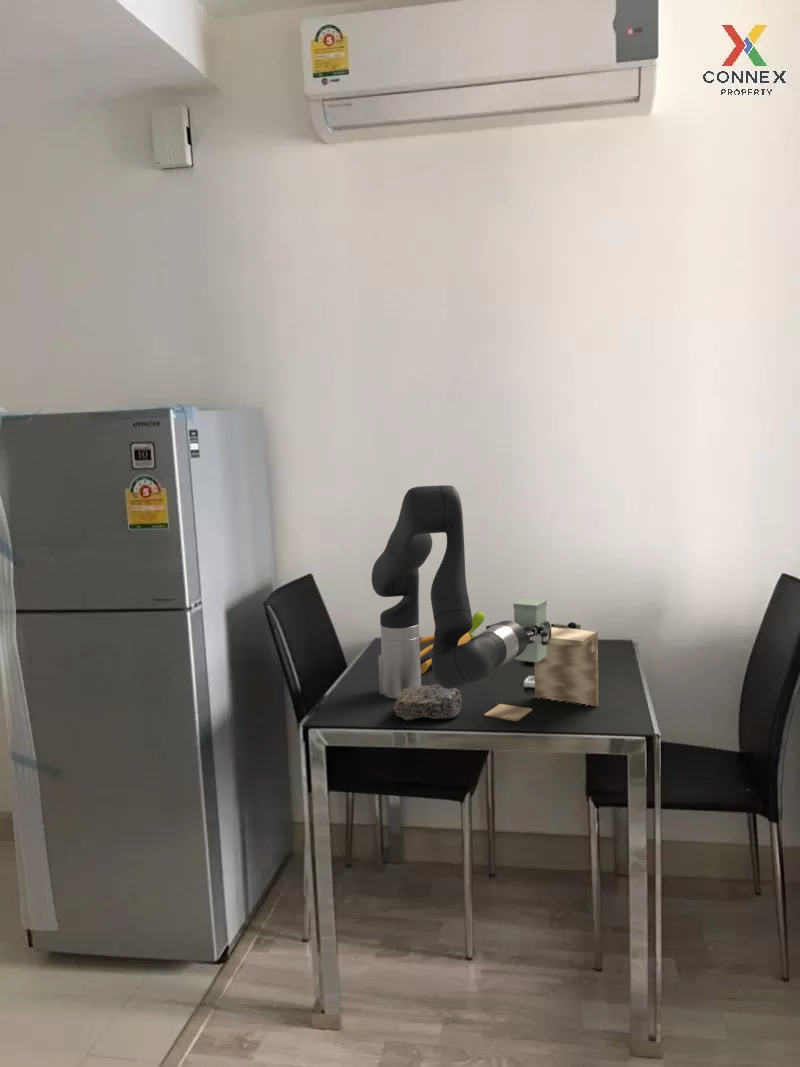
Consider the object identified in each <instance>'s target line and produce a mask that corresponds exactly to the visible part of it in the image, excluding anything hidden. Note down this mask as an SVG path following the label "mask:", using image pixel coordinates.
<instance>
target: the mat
mask: <svg viewBox="0 0 800 1067" xmlns="http://www.w3.org/2000/svg"><path fill="white" fill-rule="evenodd" d="M532 711H533V708H530V707H524V706H518V705H510V704H504V703H499V704H497V705H496V706H495V707H492V709H490V710H489V711H487V712H485V713H484V714H483V716H484V717H489V718H495V719H501V720H507V721H512V722H518V721H520V720H522V719H523V718H524V717H526V716H527V715H528V714H529V713H531V712H532Z"/></svg>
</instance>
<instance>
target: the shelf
mask: <svg viewBox="0 0 800 1067" xmlns="http://www.w3.org/2000/svg"><path fill="white" fill-rule="evenodd" d="M598 632H599V631H597V630H589V629H581V628H580V629H571V628H561V627H551V640H550V641H549V643H548V645H546V647H547V656H546V657H545V658H543V659H542V660H540V661H538V662H534V664H533V665H534V698H535V697H538V698H537V699H540V698H543V699H542V700H547V699H551V700H550V701H554V700H559V701H558V702H561V701H567V702H566V703H568V702H575V703H581V704H586V705H585V706H588V705H591V706H590V707H595V706H596V708H597V707H599V640H598V639H599V637H598V636H599V635H598ZM544 698H545V699H544ZM575 703H574V704H575ZM581 704H580V705H581Z"/></svg>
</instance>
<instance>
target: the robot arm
mask: <svg viewBox="0 0 800 1067" xmlns="http://www.w3.org/2000/svg"><path fill="white" fill-rule="evenodd" d="M461 501H462V500H461V497H460V494H459V491H458V490H457V488H456V487H455V486H454V485H448V484H447V485H444V484H442V485H423V486H421V485H420V486H415V487H411V488H409V489H408V490H407V491H406V493H405V495H404V497H403V500H402V503H401V507H400V511H399V515H398V518H397V522H396V524H395V527H394V528H393V530H392V532H391V534H390V535H389V538H388V540H387V543H386V546H385V548H384V550H383V552H382V553H380V556H379V557H378V558H377V559H376V561H375V562H374V564H373V567H372V571H371V584H372V589H373V590H374V593H376V595H378V596H379V597H383V598H390V597H391V598H393V597H402V598H401V600H400V601H399V602H398V603H396V604H395V605H393V606H391V607H389V608H387V609H385V610H383V611H382V612H381V613H380V616H379V620H380V621H379V622H380V624H379V625H380V642H381V643H380V645H381V653H380V654H379V655H378V678H379V679H378V680H379V681H378V682H379V695H382V694H383V696H384V695H385V696H384V697H386V698H389V699H394V700H397V699H398V696H399V694H400V693H401V692H402V691H404V689H407V688H410V687H420V686H422V674H421V659H420V652H421V643H420V640H421V638H420V618H419V616H420V615H419V614H420V613H419V612H420V608H419V607H420V606H419V604H420V602H419V597H420V596H419V595H420V594H419V593H420V591H419V590H420V588H419V587H420V573H419V572H420V571H419V568H421V567H422V565H423V564H424V563H426V560H427V558H428V557H429V556H430V554H431V552H432V548H433V538H432V535H431V534H440V533H443V534H444V533H445V535H446V547H445V552H444V555H443V558H442V561H441V562H440V563H439V564H440V565H439V567H438V569H437V570H436V573H435V576H434V578H433V579H432V584H431V588H430V602H431V603H430V604H431V608H432V616H433V620H434V633H433V635H434V641H433V643H432V644H433V650H432V652H431V658H432V664H431V670H432V674H433V677H434V679H435V681H436V682H437V684H438V685H440V686H442V687H444V688H447V689H453V688H459V687H462V686H466V685H468V684H472V683H475V682H478V681H480V680H483V679H484V678H487V676H489V675H490V674H491V673H492V672H493V671H494V669H497V667H499V666H503V665H505V664H507V663H509V662H511V661H512V660H514V659H515V658H516V657H517V656H519V655H520V654H522V653H523V652H524V650H525V648H526V647H527V645H528V644H532V643H534V642H536V641H540V643H541V644H542V645H548V643H549V641H550V640H551V623H550V621H547V620H546V621H545V622H544V623H542V624H540V625H533V624H531V625H527V626H523V625H522V626H520V625H519V624H517V623H516V622H514V620H513V621H512V620H503V621H499V622H496V623H491V624H489V625H486V626H485V629H484V631H482V632H481V633H479V634H478V635H475V637H473V638H472V639H470V640H469V641H468V642H467V643H464V644H461V645H459V646H458V642H459V640H460V638H461V637H462V636H464V635H465V634H466V633H468V632H469V631H470V630H471V629H472V626H473V620H472V618H473V615H472V610H471V604H470V598H469V593H468V588H467V579H466V578H467V577H466V555H465V550H466V549H465V535H464V533H465V532H464V517H463V507H462V502H461ZM530 629H531V630H530ZM537 631H539V634H538V635H537Z"/></svg>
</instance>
